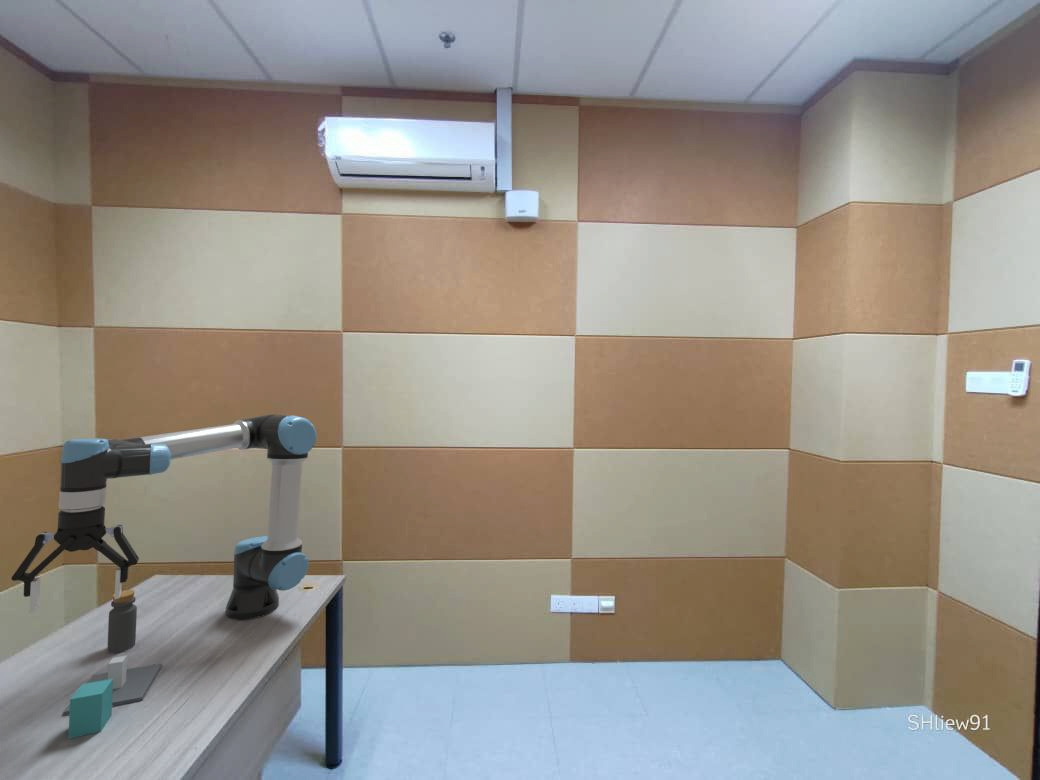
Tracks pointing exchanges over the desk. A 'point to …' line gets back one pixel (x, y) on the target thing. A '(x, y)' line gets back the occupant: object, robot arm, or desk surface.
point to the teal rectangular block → (90, 708)
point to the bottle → (122, 622)
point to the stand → (126, 681)
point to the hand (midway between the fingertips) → (77, 603)
